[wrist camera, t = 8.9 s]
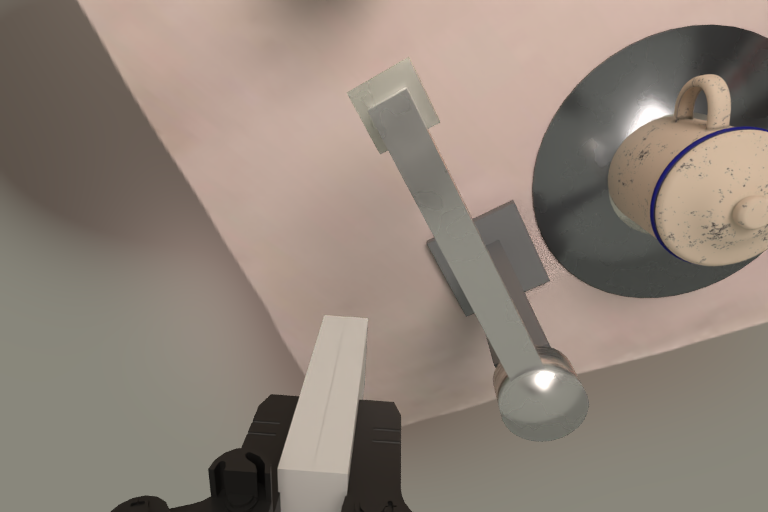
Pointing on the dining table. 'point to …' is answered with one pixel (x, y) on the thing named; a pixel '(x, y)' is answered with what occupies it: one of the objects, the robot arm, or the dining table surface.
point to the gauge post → (504, 265)
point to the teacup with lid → (696, 180)
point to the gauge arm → (470, 260)
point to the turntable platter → (608, 131)
